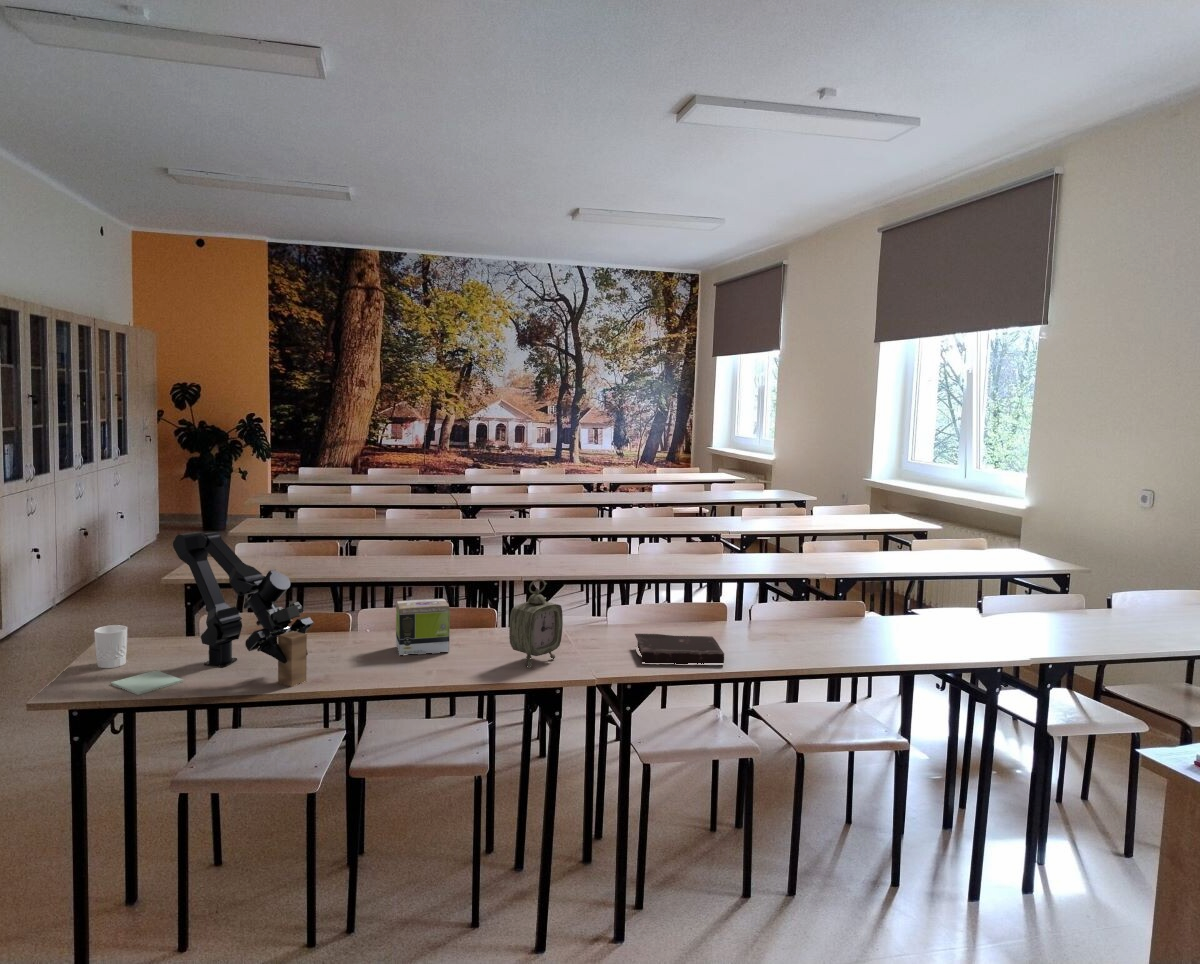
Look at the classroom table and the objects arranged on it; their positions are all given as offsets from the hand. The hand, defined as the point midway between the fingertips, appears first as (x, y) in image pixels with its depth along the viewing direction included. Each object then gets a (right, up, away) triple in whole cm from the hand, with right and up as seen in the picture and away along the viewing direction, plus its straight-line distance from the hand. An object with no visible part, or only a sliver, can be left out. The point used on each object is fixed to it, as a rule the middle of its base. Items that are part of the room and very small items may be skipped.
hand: (296, 659), depth 223 cm
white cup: (-54, -4, +9) cm, 55 cm away
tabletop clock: (+61, -7, +27) cm, 67 cm away
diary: (+104, -8, +38) cm, 111 cm away
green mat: (-37, -5, -4) cm, 38 cm away
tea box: (+26, -4, +33) cm, 43 cm away
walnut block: (-1, -6, +1) cm, 7 cm away
